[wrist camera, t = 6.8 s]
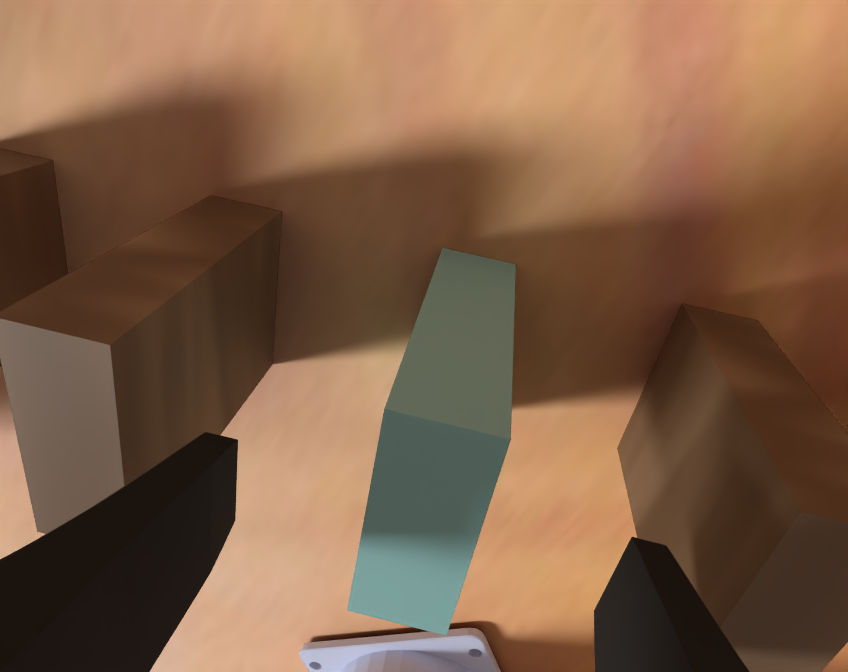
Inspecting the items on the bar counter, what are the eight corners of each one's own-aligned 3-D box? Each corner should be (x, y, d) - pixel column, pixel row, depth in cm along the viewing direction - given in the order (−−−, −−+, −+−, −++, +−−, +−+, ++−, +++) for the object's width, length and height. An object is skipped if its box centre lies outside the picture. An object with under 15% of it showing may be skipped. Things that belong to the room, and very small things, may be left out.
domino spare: (515, 264, 15) (510, 439, 9) (474, 412, 18) (446, 635, 11) (442, 247, 16) (384, 408, 9) (411, 397, 18) (347, 610, 11)
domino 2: (758, 320, 15) (935, 544, 9) (682, 463, 18) (776, 721, 11) (682, 303, 15) (801, 511, 9) (617, 447, 18) (672, 695, 11)
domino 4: (281, 211, 16) (110, 345, 9) (272, 364, 18) (131, 555, 12) (211, 195, 16) (-9, 315, 9) (211, 350, 18) (37, 531, 12)
